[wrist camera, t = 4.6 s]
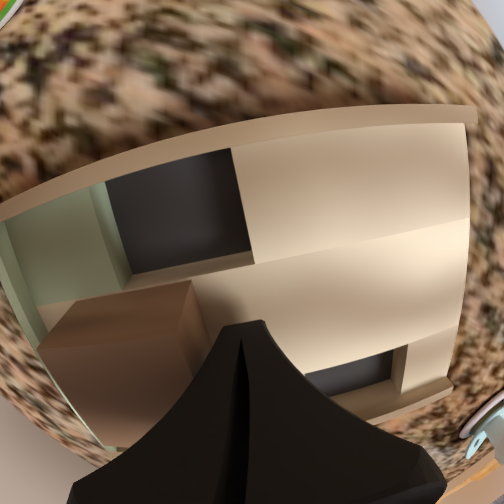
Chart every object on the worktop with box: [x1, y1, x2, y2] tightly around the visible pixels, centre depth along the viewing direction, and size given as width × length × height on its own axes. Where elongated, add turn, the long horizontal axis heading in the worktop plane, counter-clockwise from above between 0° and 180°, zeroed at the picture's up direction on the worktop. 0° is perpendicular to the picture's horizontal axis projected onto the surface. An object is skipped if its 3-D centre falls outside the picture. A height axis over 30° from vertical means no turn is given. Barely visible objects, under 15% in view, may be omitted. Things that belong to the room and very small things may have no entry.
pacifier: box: [460, 390, 504, 465], centre depth 14 cm, size 7×6×6 cm
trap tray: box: [0, 104, 478, 457], centre depth 10 cm, size 13×18×2 cm
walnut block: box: [36, 280, 213, 447], centre depth 9 cm, size 4×4×3 cm
